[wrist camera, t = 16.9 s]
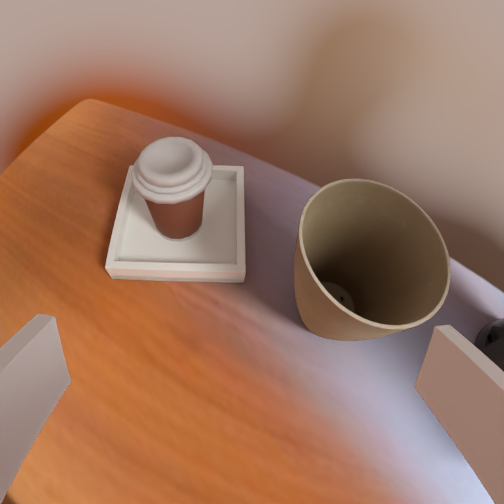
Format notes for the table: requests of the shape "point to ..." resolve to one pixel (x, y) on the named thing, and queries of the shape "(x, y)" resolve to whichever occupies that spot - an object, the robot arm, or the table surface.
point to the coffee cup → (173, 185)
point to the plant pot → (367, 262)
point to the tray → (189, 251)
